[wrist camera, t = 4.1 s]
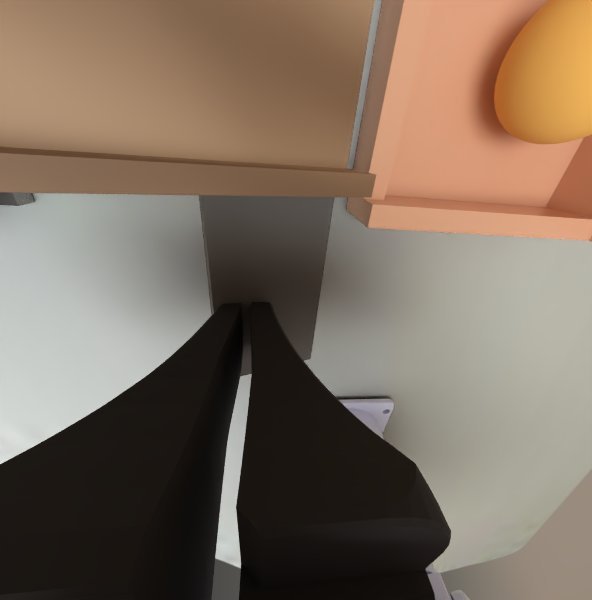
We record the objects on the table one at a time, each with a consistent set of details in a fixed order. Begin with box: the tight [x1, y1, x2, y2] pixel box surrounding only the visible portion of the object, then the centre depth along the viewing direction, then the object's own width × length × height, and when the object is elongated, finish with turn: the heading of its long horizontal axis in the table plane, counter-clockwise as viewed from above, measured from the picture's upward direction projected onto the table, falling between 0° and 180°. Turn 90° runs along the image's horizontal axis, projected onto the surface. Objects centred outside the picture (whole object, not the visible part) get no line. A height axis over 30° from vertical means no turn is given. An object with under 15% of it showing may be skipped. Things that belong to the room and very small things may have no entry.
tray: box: [346, 0, 592, 241], centre depth 8 cm, size 10×10×5 cm
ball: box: [494, 0, 592, 144], centre depth 8 cm, size 4×4×4 cm
